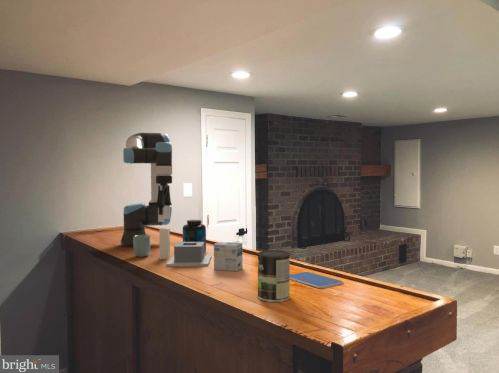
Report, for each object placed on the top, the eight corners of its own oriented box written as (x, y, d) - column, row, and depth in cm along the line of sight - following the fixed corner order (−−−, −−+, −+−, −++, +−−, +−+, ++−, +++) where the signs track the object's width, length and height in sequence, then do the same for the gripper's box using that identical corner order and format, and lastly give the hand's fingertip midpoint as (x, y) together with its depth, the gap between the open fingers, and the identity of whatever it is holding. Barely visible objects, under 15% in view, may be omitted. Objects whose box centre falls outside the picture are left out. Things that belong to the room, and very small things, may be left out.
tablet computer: (282, 278, 147) (282, 275, 147) (307, 274, 154) (307, 270, 154) (319, 290, 131) (319, 286, 131) (344, 284, 138) (344, 281, 138)
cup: (145, 258, 183) (145, 237, 183) (130, 257, 185) (130, 236, 184) (153, 255, 191) (152, 234, 190) (138, 254, 192) (138, 234, 192)
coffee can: (259, 303, 117) (259, 256, 117) (256, 293, 127) (255, 250, 127) (293, 302, 118) (293, 256, 117) (286, 292, 128) (286, 249, 128)
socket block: (173, 257, 184) (173, 241, 184) (211, 257, 184) (211, 240, 184) (165, 266, 166) (165, 247, 166) (207, 266, 166) (207, 247, 166)
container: (178, 252, 196) (178, 221, 195) (190, 249, 207) (190, 218, 206) (198, 254, 191) (198, 222, 191) (210, 250, 202) (210, 219, 202)
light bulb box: (243, 268, 163) (243, 242, 162) (237, 271, 156) (237, 245, 156) (219, 266, 166) (219, 241, 166) (213, 269, 160) (213, 243, 160)
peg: (161, 257, 185) (161, 228, 184) (169, 257, 185) (169, 228, 184) (159, 259, 181) (159, 229, 180) (168, 259, 181) (167, 229, 180)
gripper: (161, 175, 194) (162, 217, 195) (149, 174, 169) (149, 223, 170) (176, 175, 194) (176, 217, 195) (166, 174, 169) (167, 223, 170)
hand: (164, 220), depth 182 cm, fingers open, 13 cm apart
